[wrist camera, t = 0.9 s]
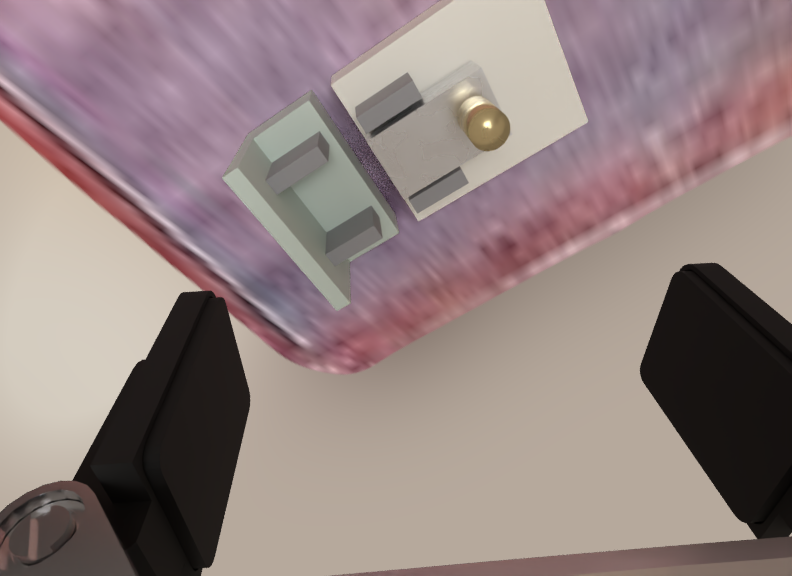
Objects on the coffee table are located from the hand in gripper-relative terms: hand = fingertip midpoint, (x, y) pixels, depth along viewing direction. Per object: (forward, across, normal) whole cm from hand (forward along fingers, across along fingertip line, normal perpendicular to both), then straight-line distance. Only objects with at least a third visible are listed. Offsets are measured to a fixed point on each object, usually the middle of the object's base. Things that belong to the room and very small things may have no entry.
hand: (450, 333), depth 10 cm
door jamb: (+24, +4, +5) cm, 25 cm away
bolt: (+21, -2, +2) cm, 21 cm away
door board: (+24, -4, 0) cm, 24 cm away
